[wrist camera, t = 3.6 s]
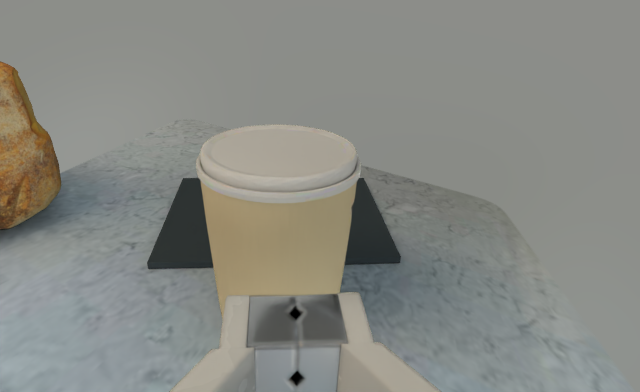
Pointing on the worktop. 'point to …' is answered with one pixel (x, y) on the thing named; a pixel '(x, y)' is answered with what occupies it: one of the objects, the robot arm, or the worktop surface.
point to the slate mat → (194, 247)
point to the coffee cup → (278, 209)
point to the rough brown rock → (23, 155)
